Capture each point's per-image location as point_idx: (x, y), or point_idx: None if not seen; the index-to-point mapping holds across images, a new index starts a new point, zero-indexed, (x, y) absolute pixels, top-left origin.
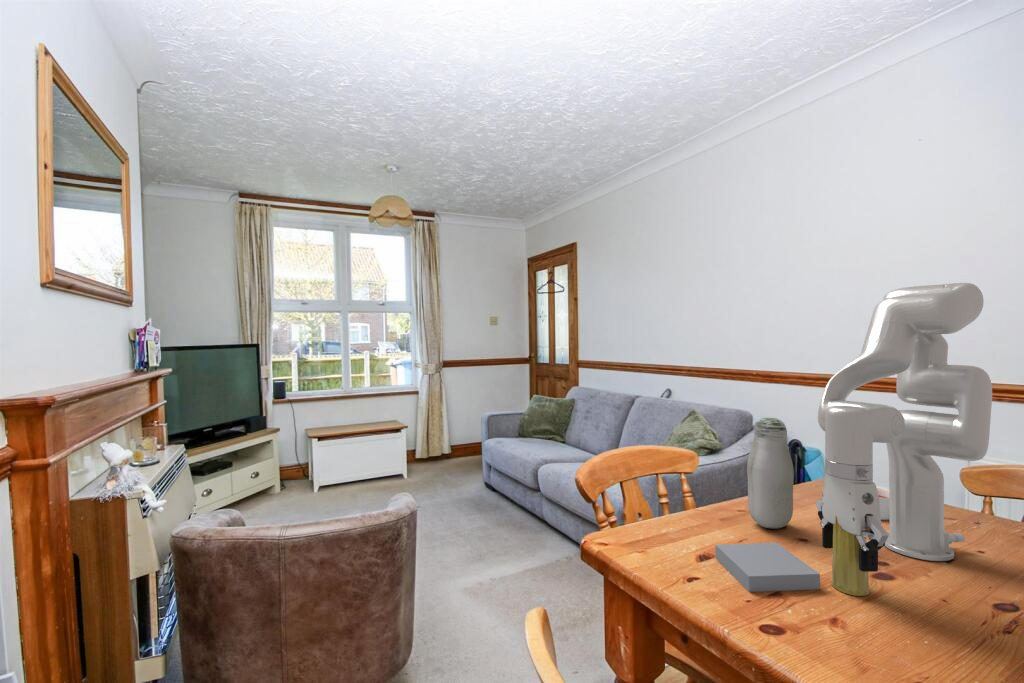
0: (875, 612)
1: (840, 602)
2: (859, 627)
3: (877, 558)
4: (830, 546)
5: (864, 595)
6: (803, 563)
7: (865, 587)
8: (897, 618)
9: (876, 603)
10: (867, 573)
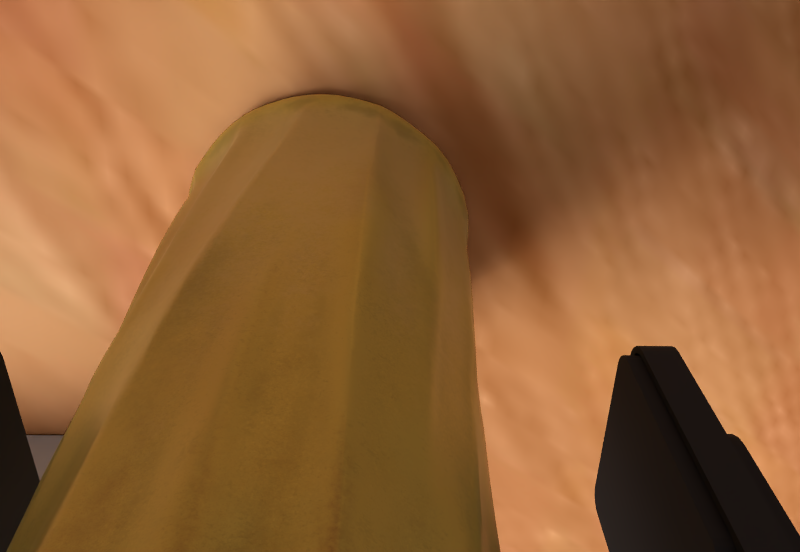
0: (673, 288)
1: (512, 415)
2: (774, 479)
3: (734, 457)
4: (20, 458)
5: (467, 215)
6: None
7: (454, 218)
8: (783, 197)
9: (571, 192)
10: (443, 240)
